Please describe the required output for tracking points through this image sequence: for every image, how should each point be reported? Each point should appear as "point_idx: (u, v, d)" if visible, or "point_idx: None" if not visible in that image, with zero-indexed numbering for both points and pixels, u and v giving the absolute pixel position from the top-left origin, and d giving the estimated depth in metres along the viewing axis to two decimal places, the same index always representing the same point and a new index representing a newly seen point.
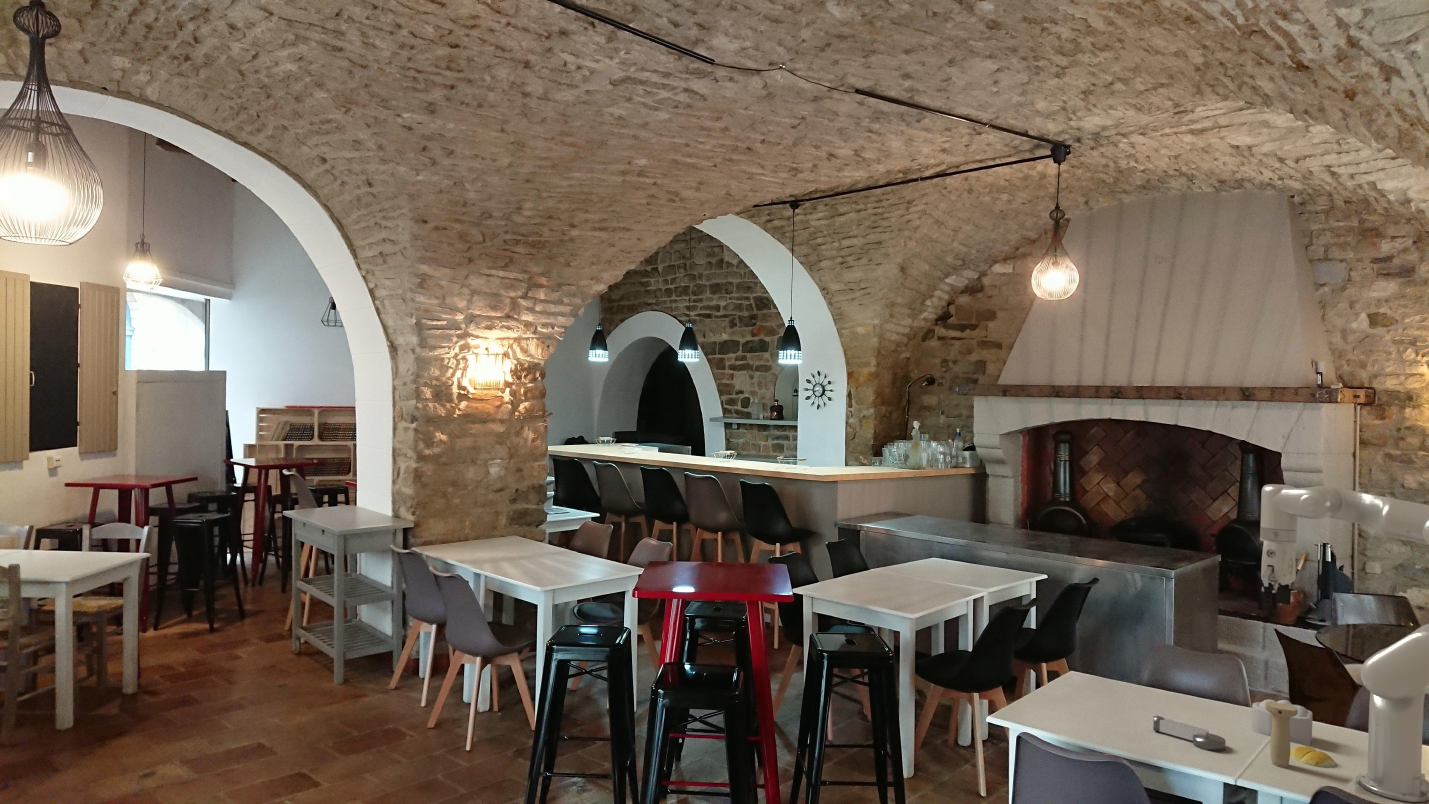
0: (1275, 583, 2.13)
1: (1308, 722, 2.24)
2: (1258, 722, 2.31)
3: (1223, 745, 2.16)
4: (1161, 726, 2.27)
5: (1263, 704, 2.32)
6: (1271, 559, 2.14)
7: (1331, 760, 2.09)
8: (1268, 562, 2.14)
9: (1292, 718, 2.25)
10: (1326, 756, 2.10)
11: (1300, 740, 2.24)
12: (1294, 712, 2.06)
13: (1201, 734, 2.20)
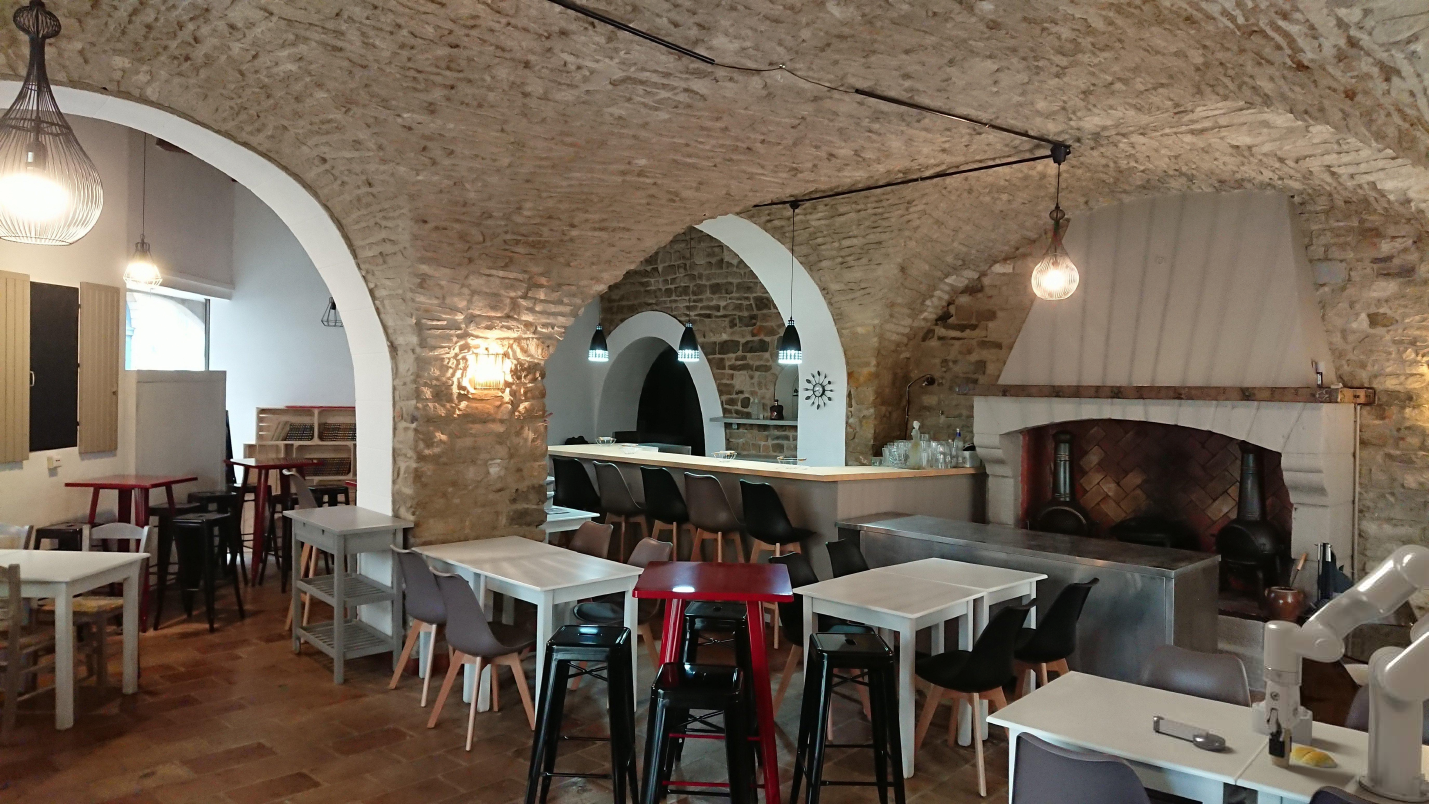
0: (1281, 731, 2.06)
1: (1308, 722, 2.24)
2: (1258, 722, 2.31)
3: (1223, 745, 2.16)
4: (1161, 726, 2.27)
5: (1263, 704, 2.32)
6: (1275, 702, 2.05)
7: (1331, 760, 2.09)
8: (1272, 705, 2.06)
9: None
10: (1326, 756, 2.10)
11: (1300, 740, 2.24)
12: (1294, 712, 2.06)
13: (1201, 734, 2.20)
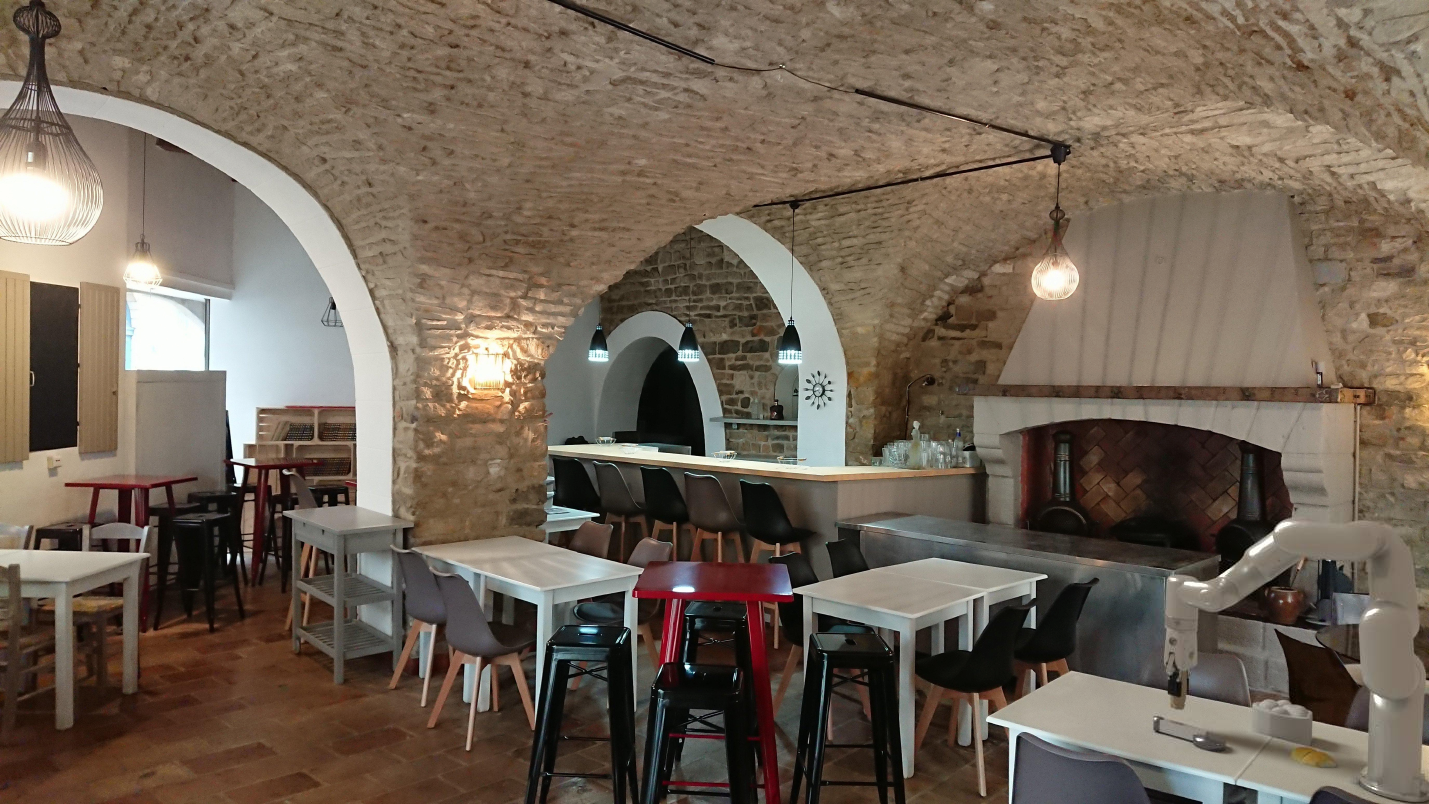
0: (1178, 672, 2.29)
1: (1308, 722, 2.24)
2: (1258, 722, 2.31)
3: (1223, 745, 2.16)
4: (1161, 726, 2.27)
5: (1263, 704, 2.32)
6: (1173, 647, 2.29)
7: (1331, 760, 2.09)
8: (1170, 649, 2.29)
9: (1292, 718, 2.25)
10: (1326, 756, 2.09)
11: (1300, 740, 2.24)
12: (1190, 655, 2.29)
13: (1201, 734, 2.20)
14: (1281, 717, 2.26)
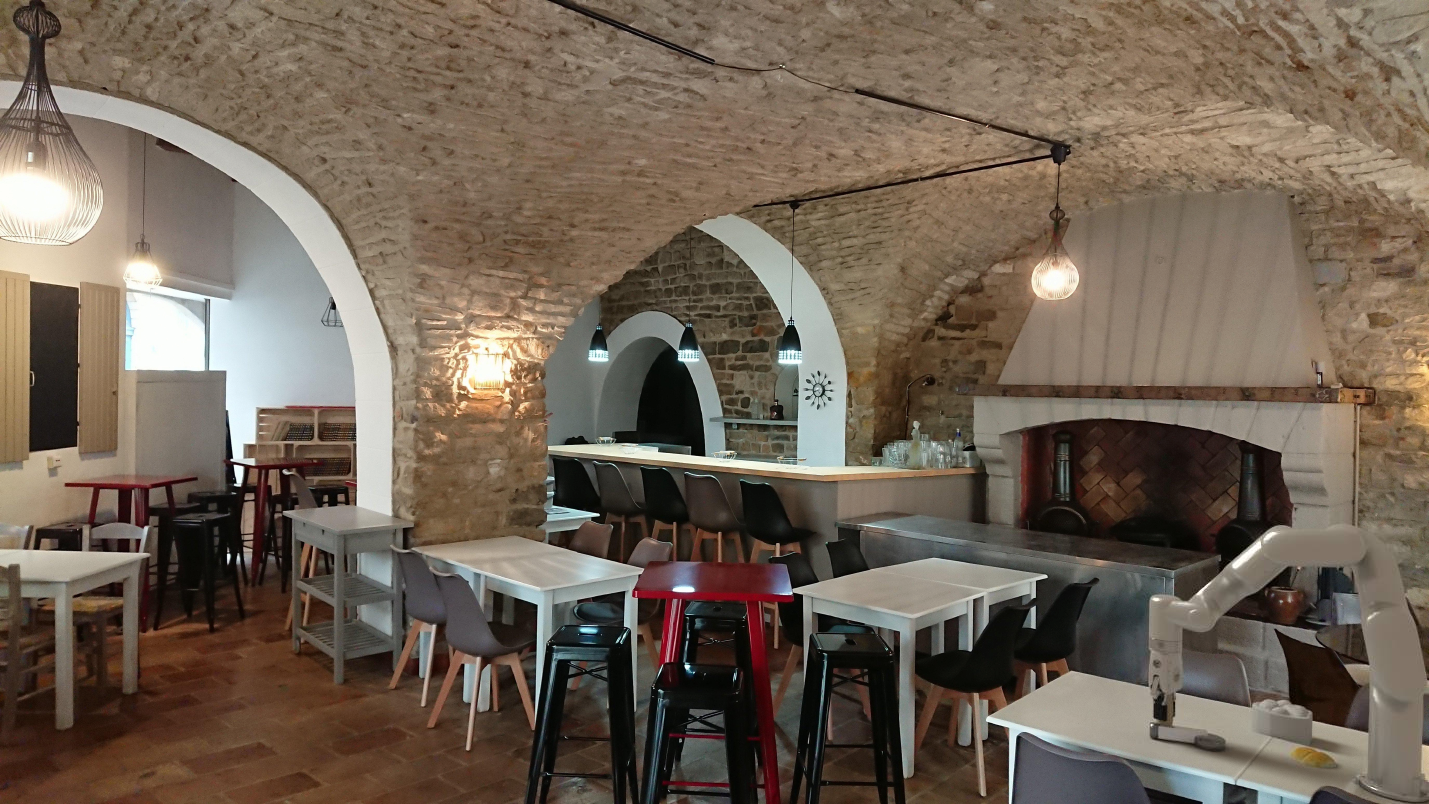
0: (1163, 696, 2.22)
1: (1308, 722, 2.24)
2: (1258, 722, 2.31)
3: (1225, 743, 2.18)
4: (1160, 733, 2.22)
5: (1263, 704, 2.32)
6: (1157, 669, 2.22)
7: (1332, 761, 2.09)
8: (1154, 672, 2.22)
9: (1292, 718, 2.25)
10: (1327, 757, 2.09)
11: (1300, 740, 2.24)
12: (1175, 678, 2.22)
13: (1203, 735, 2.19)
14: (1281, 717, 2.26)
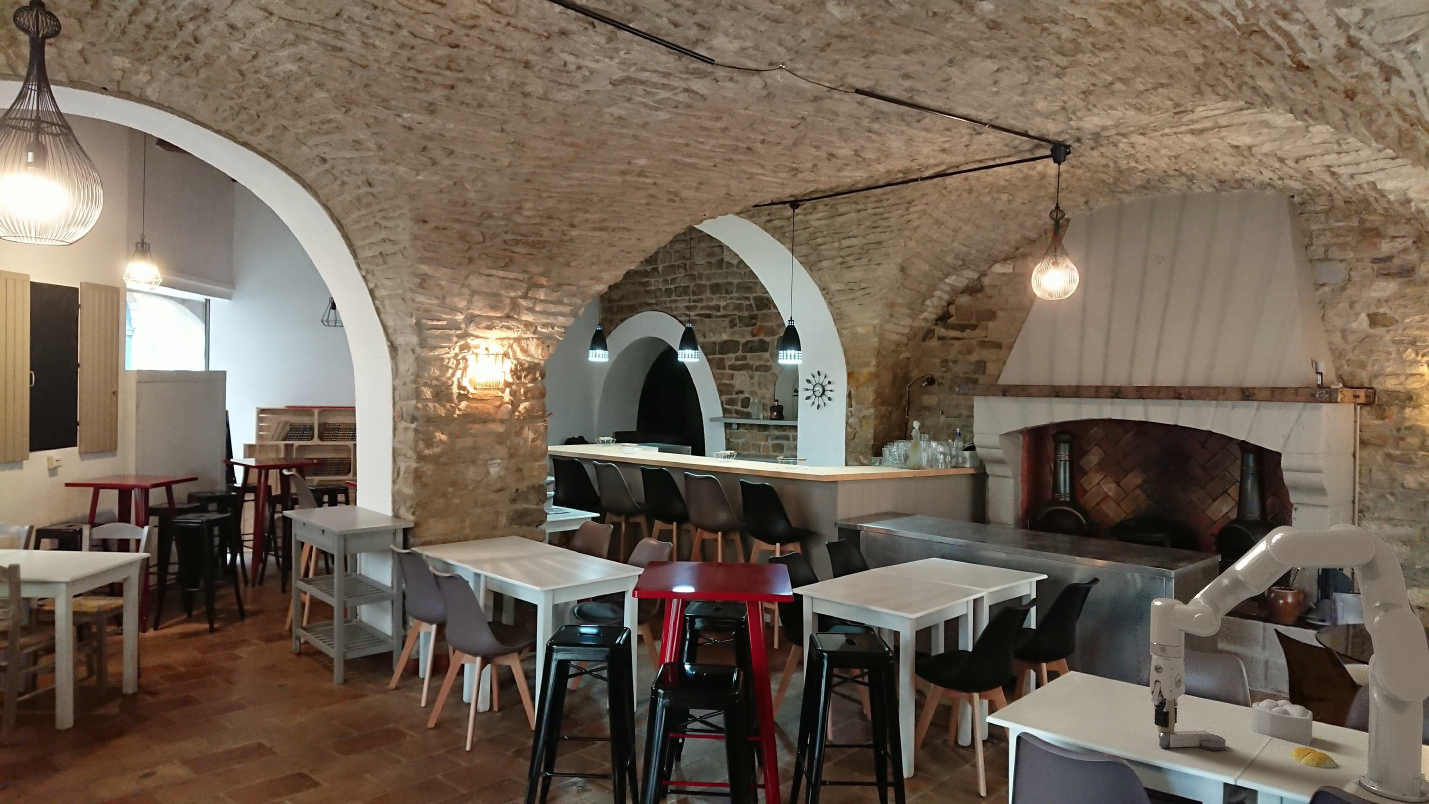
0: (1165, 702, 2.18)
1: (1308, 722, 2.24)
2: (1258, 722, 2.31)
3: None
4: (1171, 741, 2.17)
5: (1263, 704, 2.32)
6: (1158, 675, 2.17)
7: (1332, 761, 2.09)
8: (1156, 677, 2.18)
9: (1292, 718, 2.25)
10: (1327, 757, 2.09)
11: (1300, 740, 2.24)
12: (1177, 684, 2.18)
13: (1206, 737, 2.18)
14: (1281, 717, 2.26)
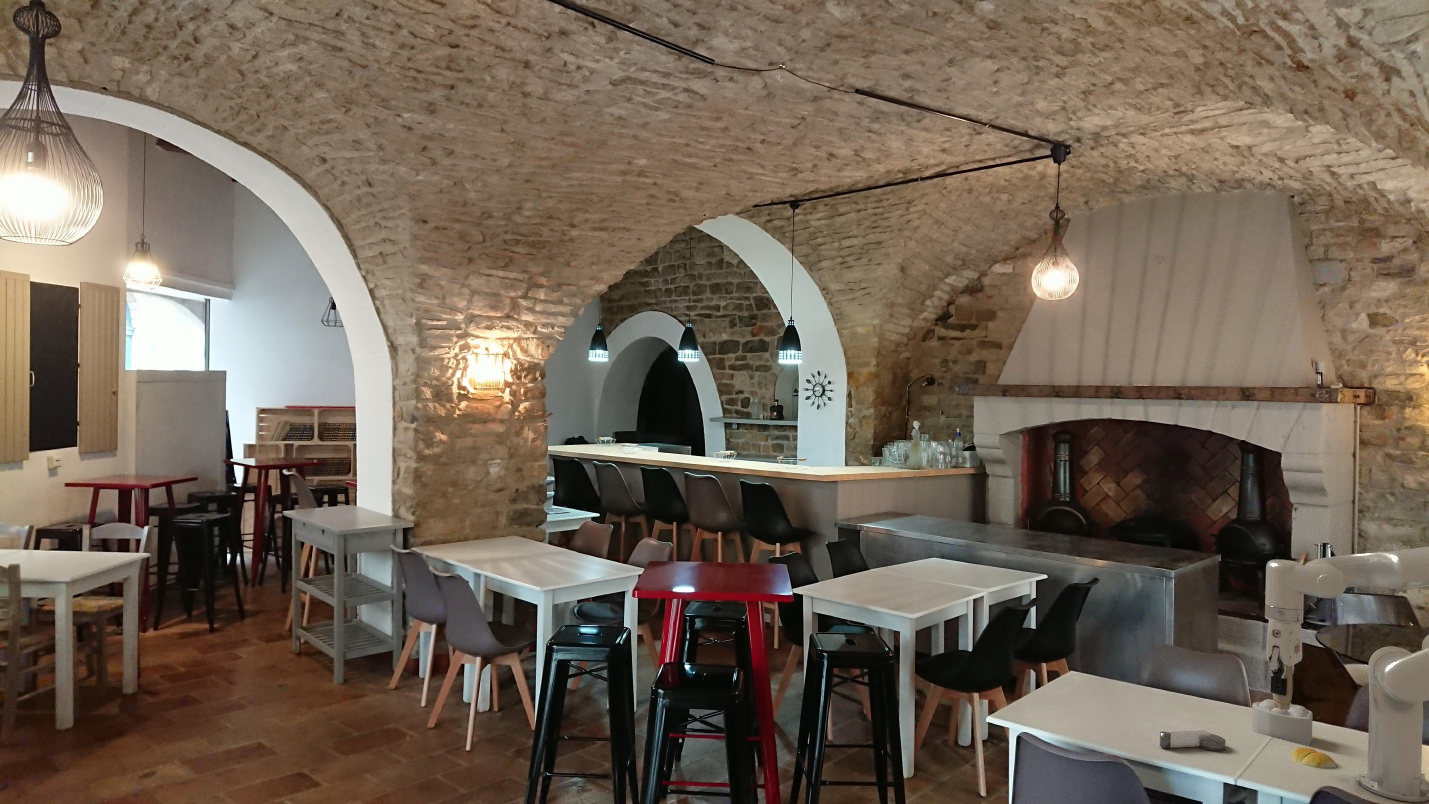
0: (1283, 668, 2.06)
1: (1308, 722, 2.24)
2: (1258, 722, 2.31)
3: None
4: (1172, 741, 2.17)
5: (1263, 704, 2.32)
6: (1277, 639, 2.05)
7: (1332, 761, 2.09)
8: (1274, 642, 2.06)
9: (1292, 718, 2.25)
10: (1327, 757, 2.09)
11: (1300, 740, 2.24)
12: (1297, 649, 2.06)
13: (1207, 737, 2.18)
14: (1281, 717, 2.26)
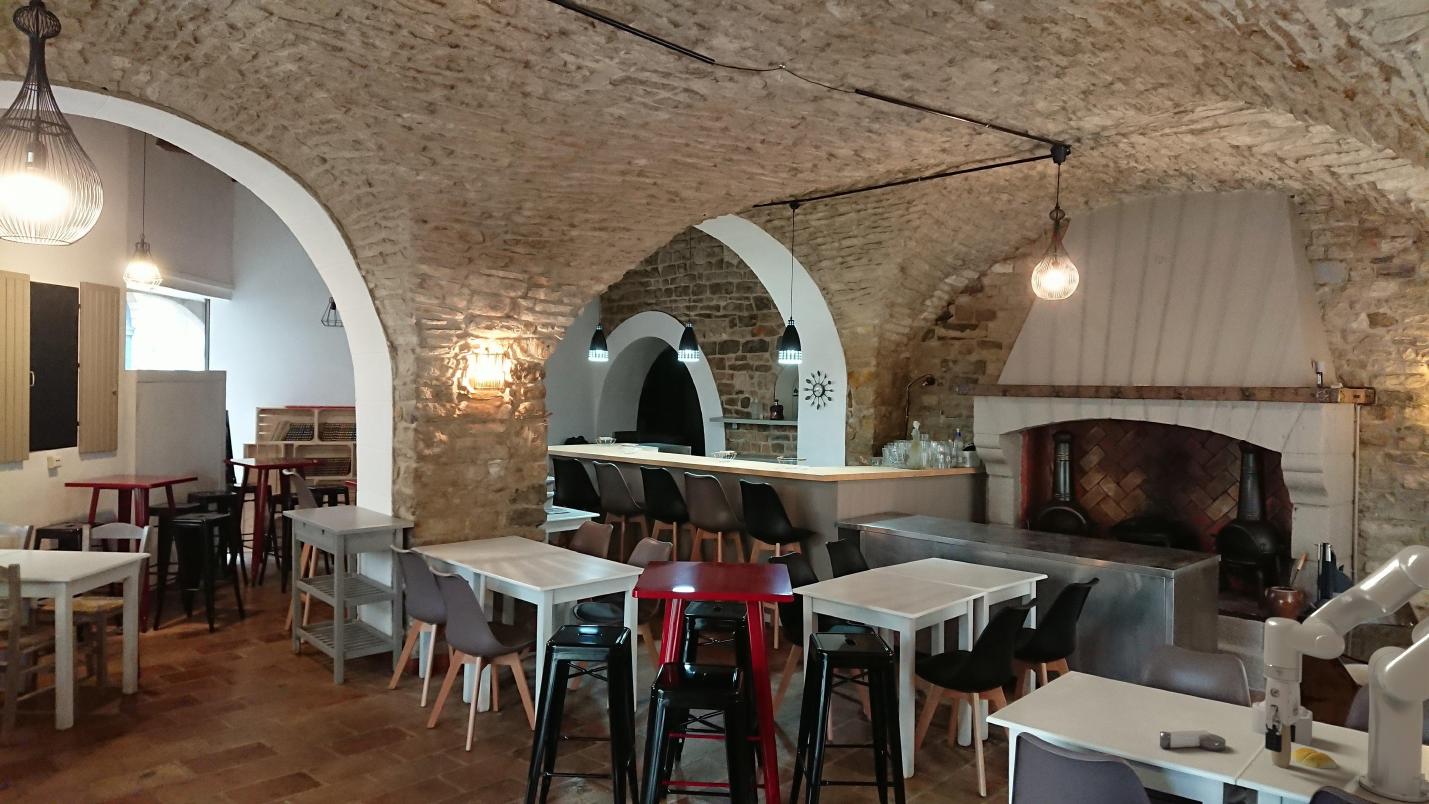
0: (1279, 724, 2.05)
1: (1308, 722, 2.24)
2: (1258, 722, 2.31)
3: None
4: (1172, 741, 2.17)
5: (1263, 704, 2.32)
6: (1275, 699, 2.05)
7: (1332, 761, 2.08)
8: (1272, 702, 2.06)
9: None
10: (1327, 757, 2.09)
11: (1300, 740, 2.24)
12: (1295, 712, 2.06)
13: (1207, 737, 2.18)
14: None
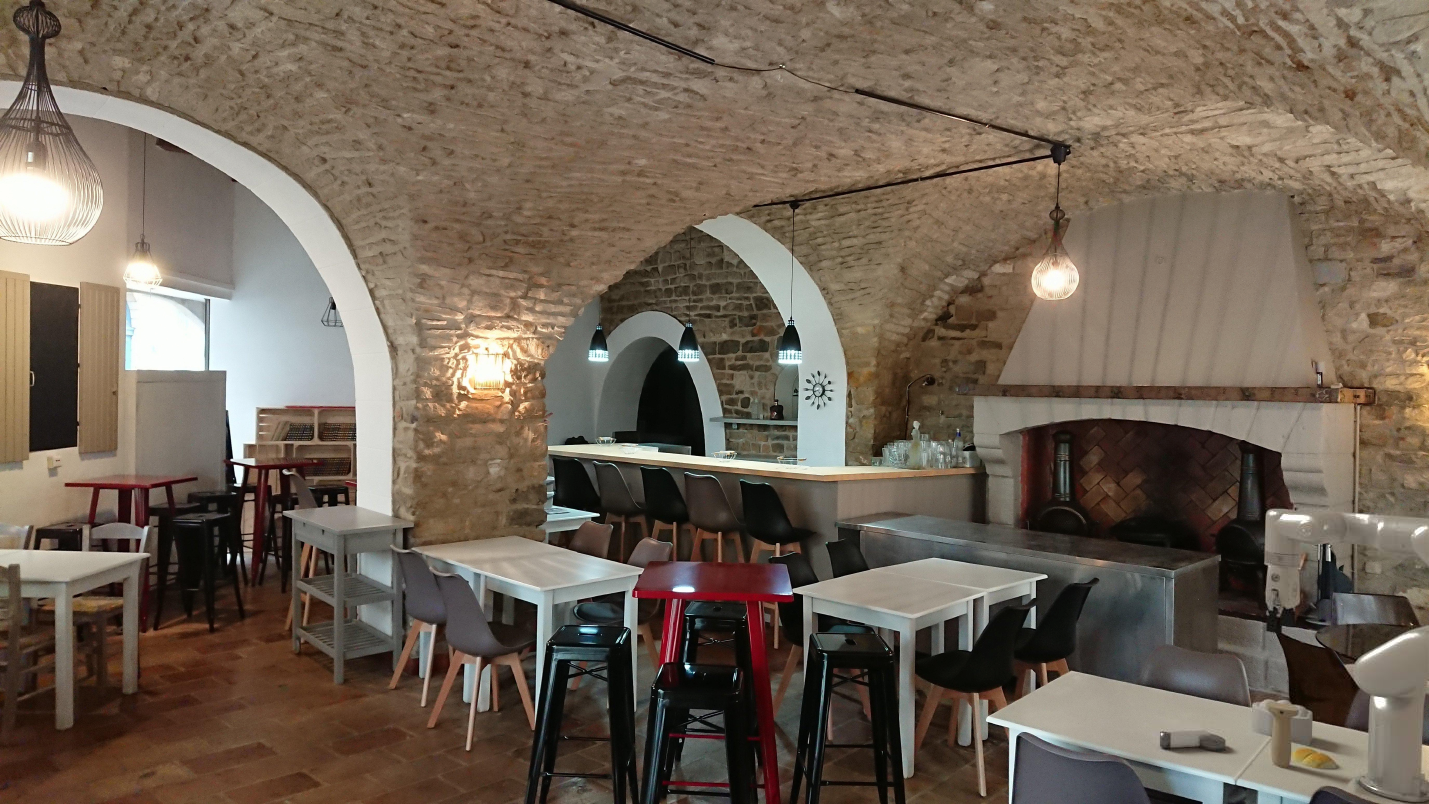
0: (1279, 607, 2.16)
1: (1308, 722, 2.24)
2: (1258, 722, 2.31)
3: None
4: (1172, 741, 2.17)
5: (1263, 704, 2.32)
6: (1275, 583, 2.16)
7: (1332, 762, 2.08)
8: (1273, 586, 2.17)
9: (1292, 718, 2.25)
10: (1327, 758, 2.09)
11: (1300, 740, 2.24)
12: (1296, 712, 2.06)
13: (1207, 737, 2.18)
14: None
